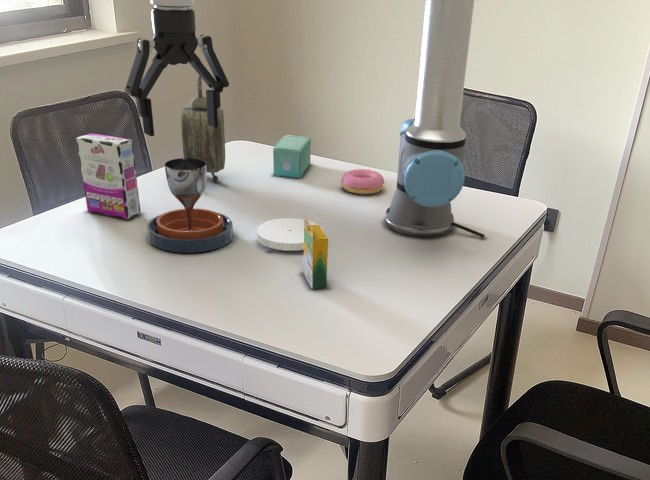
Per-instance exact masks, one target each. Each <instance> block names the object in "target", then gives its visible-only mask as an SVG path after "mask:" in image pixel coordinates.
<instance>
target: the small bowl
mask: <svg viewBox="0 0 650 480" xmlns="http://www.w3.org/2000/svg"><path fill="white" fill-rule="evenodd" d="M218 213H219V212H216V211H213V210H210V209H204V208H193V210H192V227H193V229H199V230H195V231H181V230H186V229H189V226H188V218H187V213H186V210H185V208H179V209H178V208H177V209H173V210H169V211H167V212H165V213H161V214H162V215H161V214H159V215H160V216H159V215H158V216H159V217H158V218H157V220H156V226H157V234H158V235H161V236H164V237H168V238H173V239H201V238H207V237H211V236H215V235H218V234H220V233H223V232H224V225H223V218H222V216H221V215H220V214H221V213H219V214H218Z"/></svg>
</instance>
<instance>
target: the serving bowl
mask: <svg viewBox="0 0 650 480" xmlns="http://www.w3.org/2000/svg"><path fill="white" fill-rule="evenodd" d="M217 213H218V214H220V215H221V216H222V218H223V225H224V232H223V233H220V234H218V235H215V236H211V237H207V238H201V239H173V238H168V237H164V236H161V235H158V234H157V226H156V220H157V218H158V217H159V216H160V215H162V214H163V213H161V214H159V215H156V216H154V217H153V218H151V219H150V220H149V221H148V222H147V225H146V229H147V230H146V231H147V238H148V241H149V243H150V244H151V245H153V246H154V247H155V248H158V249H161V250H164V251H167V252H173V253H182V254H194V253H195V254H196V253H203V252H208V251H213V250H216V249H217V250H218V249H219V248H222V247H225V246H226V245H227V244H229V243H231V241H232V240H233V238H234V230H233V228H234V227H233V221H232V220H231V218H230V217H229V216H226V215H225V214H222V213H219V212H217Z"/></svg>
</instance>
